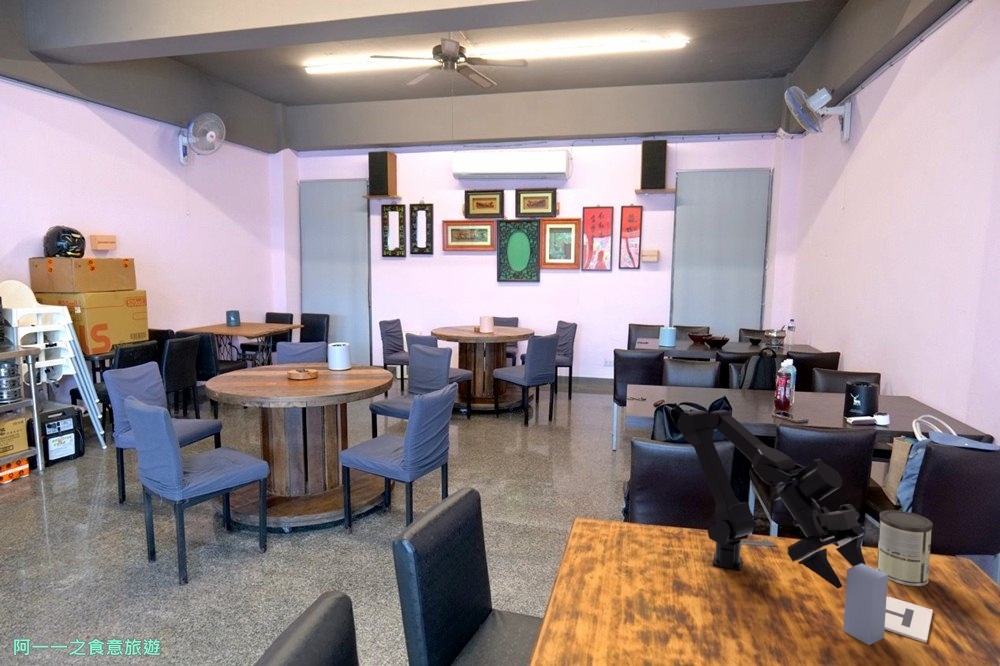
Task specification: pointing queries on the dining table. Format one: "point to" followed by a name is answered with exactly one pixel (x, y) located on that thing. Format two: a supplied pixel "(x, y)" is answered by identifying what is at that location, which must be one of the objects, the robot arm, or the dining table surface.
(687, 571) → the dining table surface
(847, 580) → the slate blue block
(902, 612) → the letter tile
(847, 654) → the dining table surface
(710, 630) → the dining table surface
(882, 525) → the coffee can
